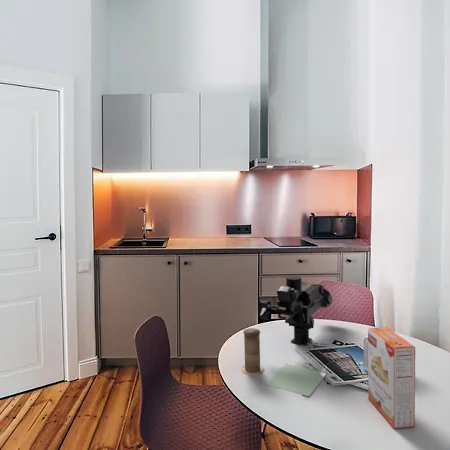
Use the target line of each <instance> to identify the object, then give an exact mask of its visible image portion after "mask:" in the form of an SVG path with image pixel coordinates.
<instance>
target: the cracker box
mask: <svg viewBox="0 0 450 450" xmlns="http://www.w3.org/2000/svg"><path fill="white" fill-rule="evenodd" d="M367 336H368V372H367V374H368V376H367V377H368V383H367V384H368V386H367V387H368V397H367V398H368V399H367V400H369V401H370V402H371V404H372V405H373V406H374V407H375V409H377V411H378V412H379V413H380V415H382V416H383V418H384V419H385V420H386V422H387V423H388V424H389V426H391V427H392V429H393V430H395V429H403V428H414V427H416V425H415V424H416V423H415V422H416V416H415V415H416V346H415V345H413V344H412V343H410V342H409V341H407V340H406V339H405V338H403V336H400V335H398V334H397V333H396V332H394V330H392V329H391V328H390V327H387V326H383V327H370V328H367Z"/></svg>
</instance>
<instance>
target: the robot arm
mask: <svg viewBox="0 0 450 450" xmlns="http://www.w3.org/2000/svg"><path fill="white" fill-rule="evenodd" d="M302 283H303V281H302V277H301V276H298V275H294V276H286V277H285V286H284V285H281V286H280V287H279V288H278V290H277V291H276V294H277V301H276V305H272V302H271V300H264V299H260V300H259V301H258V302H257V316H258V318H259V319H261V320H269V319H270V318H272V317H271V316H272V313H276V314H277V315H278V318H277V319H281V320H282V319H283V320H284V323H285V324H288V327H293V338H292V339H291V340H290V343H293V344H299V345H303V346H307V345H308V344H309V343H311V341H313V338H311V337H310V330H311V329H314V324H315V320H314V318H313V317H314V316H312V315H314V314H315V313H317V311H319V309H322V308H329V307H330V306H331V305H332V303H333V297H332V294H331V292H330V291H328V289H326V288H325V287H324V285H322V284H316V283H312V284H310V286H308V287H307V288H305V289H304V290H302V288H303V285H302ZM308 342H309V343H308ZM307 343H308V344H307ZM306 344H307V345H306Z"/></svg>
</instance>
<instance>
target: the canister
mask: <svg viewBox="0 0 450 450" xmlns="http://www.w3.org/2000/svg"><path fill="white" fill-rule="evenodd" d="M243 334H244V335H243V337H244V338H243V340H244V341H243V342H244V365H245V370H246V371H247V372H249V373H256V372H259V371H260V365H261V345H260V344H261V343H260V342H261V340H260V339H261V338H260V335H261V330H260V329H258V328H252V327H251V328H246V329H244V330H243Z"/></svg>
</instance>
